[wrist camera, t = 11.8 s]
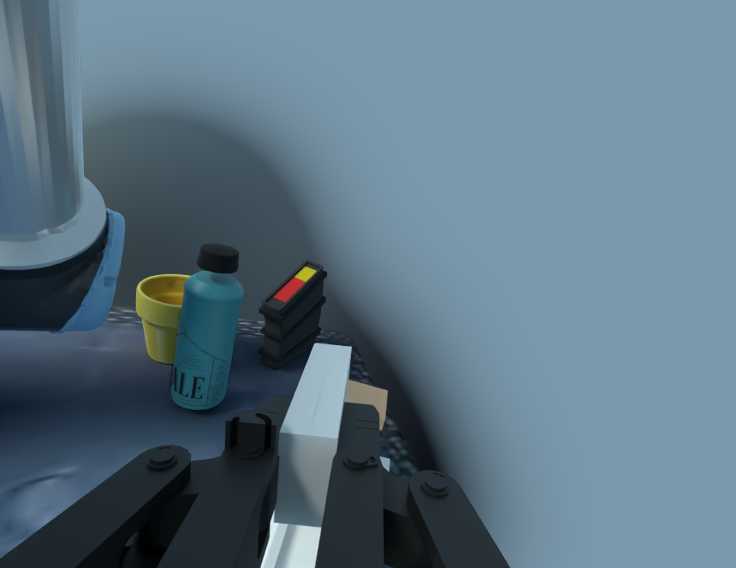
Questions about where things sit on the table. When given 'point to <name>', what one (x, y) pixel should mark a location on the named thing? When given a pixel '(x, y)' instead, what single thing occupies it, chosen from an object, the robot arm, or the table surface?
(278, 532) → the switch panel
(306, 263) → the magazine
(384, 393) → the switch tab
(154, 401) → the table surface
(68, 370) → the table surface
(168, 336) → the plant pot
